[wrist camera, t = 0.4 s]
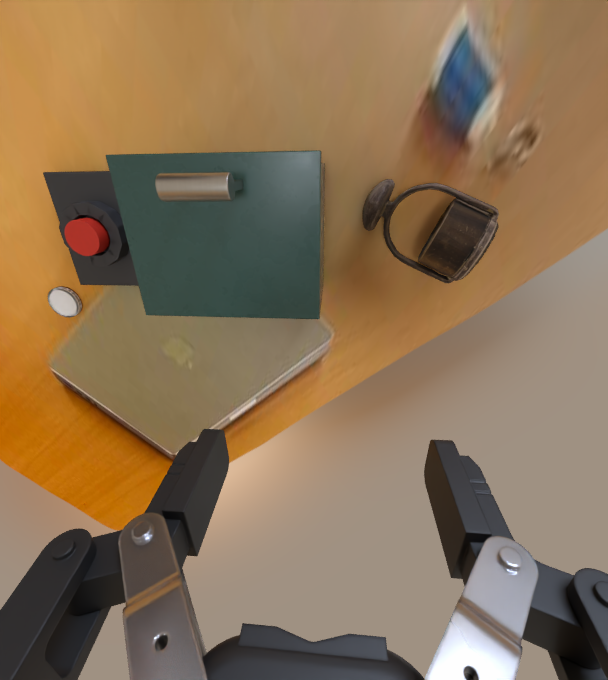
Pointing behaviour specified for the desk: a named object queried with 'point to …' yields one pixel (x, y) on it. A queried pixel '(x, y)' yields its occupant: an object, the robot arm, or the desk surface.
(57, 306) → the bottle cap
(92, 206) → the switch block
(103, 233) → the button
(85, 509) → the desk surface
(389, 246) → the brown handled cylinder
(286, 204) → the lid
